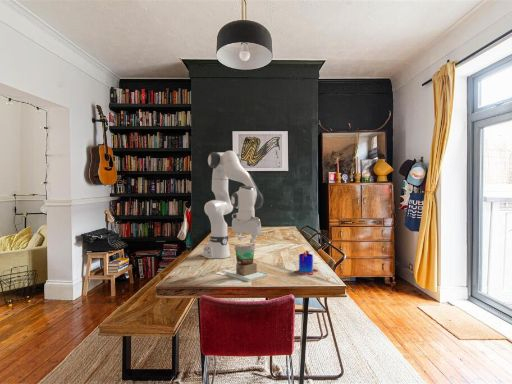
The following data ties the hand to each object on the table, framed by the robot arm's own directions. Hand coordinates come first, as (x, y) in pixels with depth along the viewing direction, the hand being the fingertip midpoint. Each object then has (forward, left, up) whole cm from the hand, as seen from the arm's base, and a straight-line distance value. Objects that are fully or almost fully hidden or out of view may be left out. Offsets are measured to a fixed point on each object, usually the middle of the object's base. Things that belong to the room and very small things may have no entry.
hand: (246, 241), depth 168 cm
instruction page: (-13, -5, -19) cm, 23 cm away
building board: (0, 0, -19) cm, 19 cm away
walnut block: (0, 0, -17) cm, 17 cm away
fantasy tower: (+18, +29, -19) cm, 39 cm away
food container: (0, 0, -13) cm, 13 cm away
